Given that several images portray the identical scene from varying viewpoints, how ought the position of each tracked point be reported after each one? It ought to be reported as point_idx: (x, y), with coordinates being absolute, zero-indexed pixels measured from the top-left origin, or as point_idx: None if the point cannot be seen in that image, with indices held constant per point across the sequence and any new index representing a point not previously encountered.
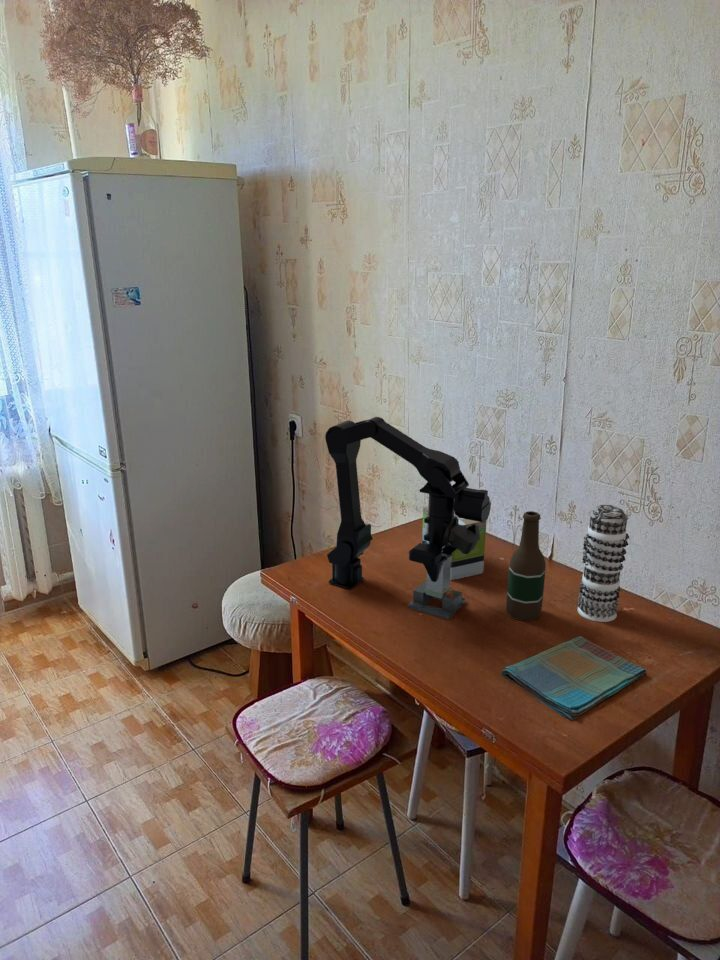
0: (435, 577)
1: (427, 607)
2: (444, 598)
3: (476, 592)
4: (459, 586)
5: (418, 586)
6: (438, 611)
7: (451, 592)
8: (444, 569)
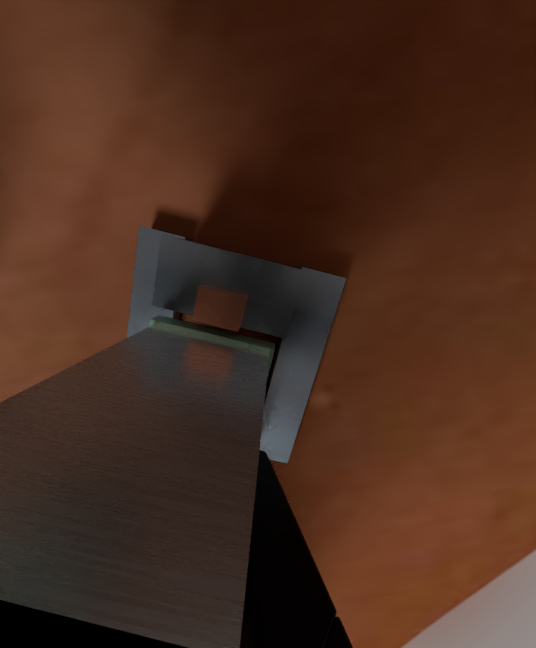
0: (283, 500)
1: (294, 387)
2: (279, 328)
3: (21, 192)
4: (7, 287)
5: None
6: (318, 333)
7: (215, 299)
8: (198, 512)
